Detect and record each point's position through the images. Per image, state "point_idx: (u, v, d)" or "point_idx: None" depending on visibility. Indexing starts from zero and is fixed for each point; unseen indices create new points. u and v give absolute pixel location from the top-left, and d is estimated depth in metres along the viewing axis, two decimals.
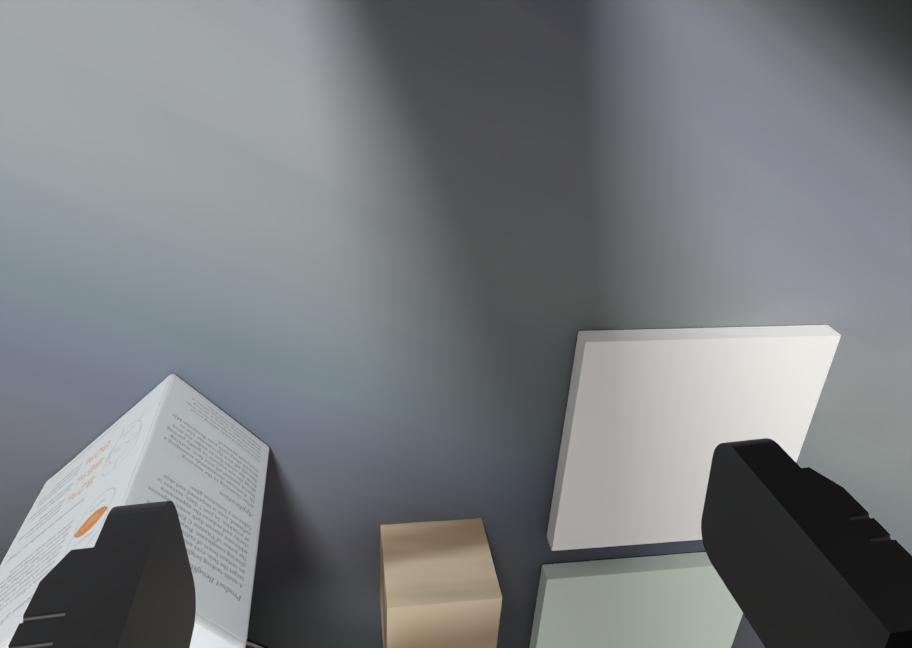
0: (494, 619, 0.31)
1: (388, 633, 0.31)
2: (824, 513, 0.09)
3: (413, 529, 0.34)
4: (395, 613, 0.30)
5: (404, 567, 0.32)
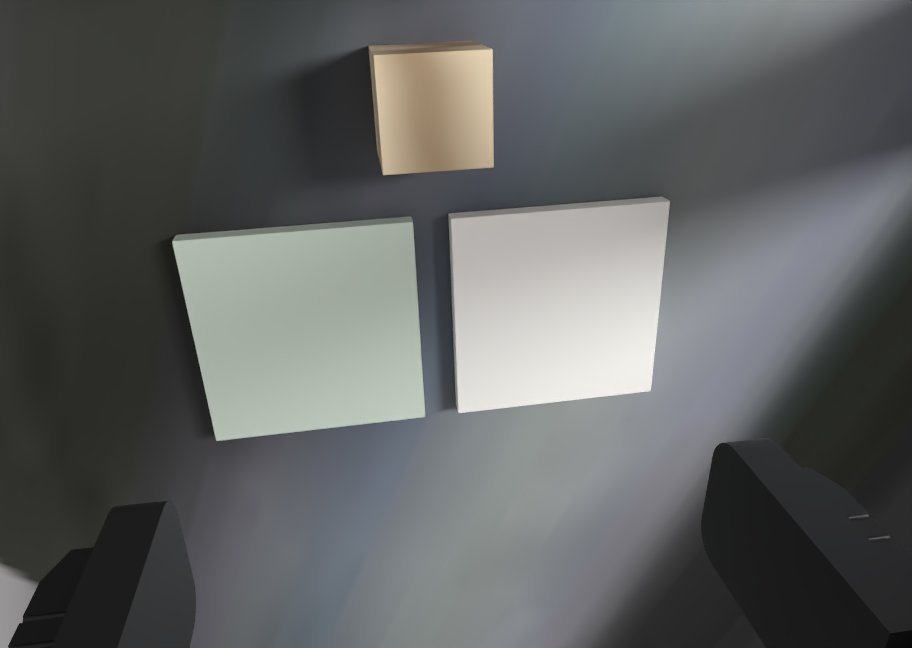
0: (464, 164, 0.32)
1: (455, 52, 0.30)
2: (824, 513, 0.09)
3: None
4: (483, 58, 0.30)
5: None
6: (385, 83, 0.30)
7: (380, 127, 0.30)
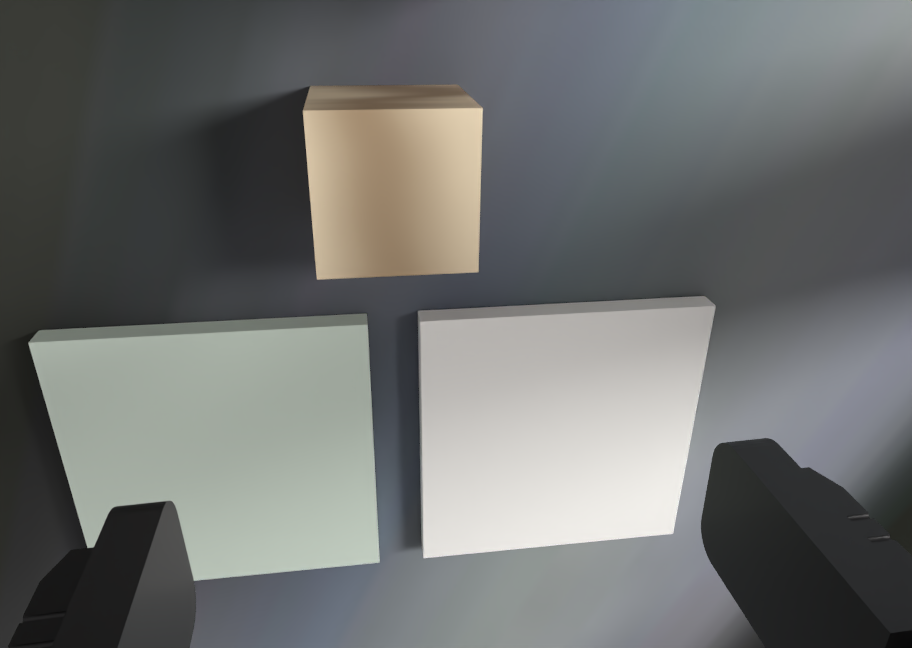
0: (436, 267, 0.22)
1: (426, 111, 0.20)
2: (824, 513, 0.09)
3: None
4: (468, 120, 0.20)
5: None
6: (320, 151, 0.20)
7: (312, 213, 0.21)
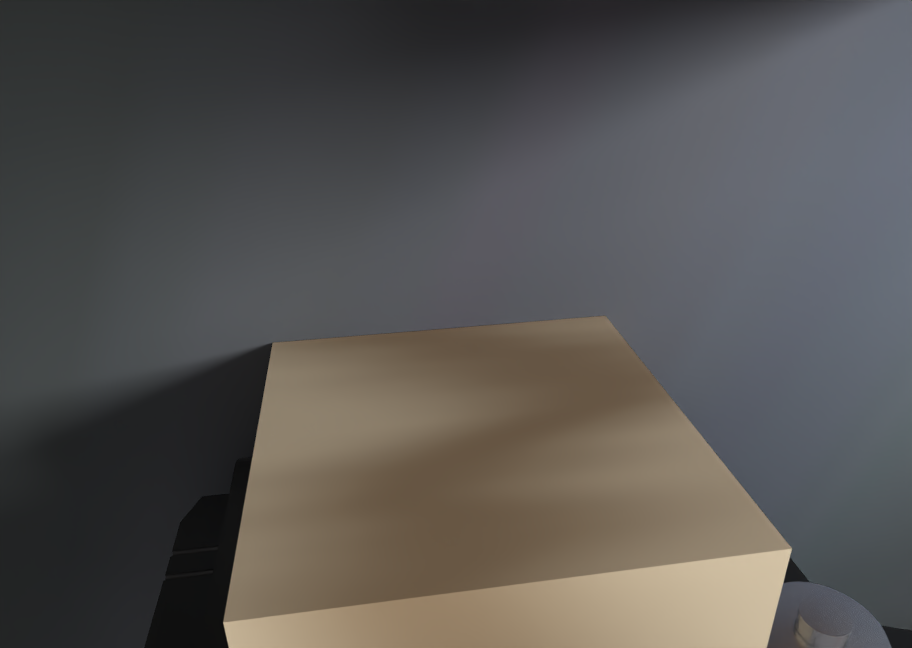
0: None
1: (622, 576, 0.06)
2: None
3: None
4: (743, 582, 0.07)
5: None
6: None
7: None
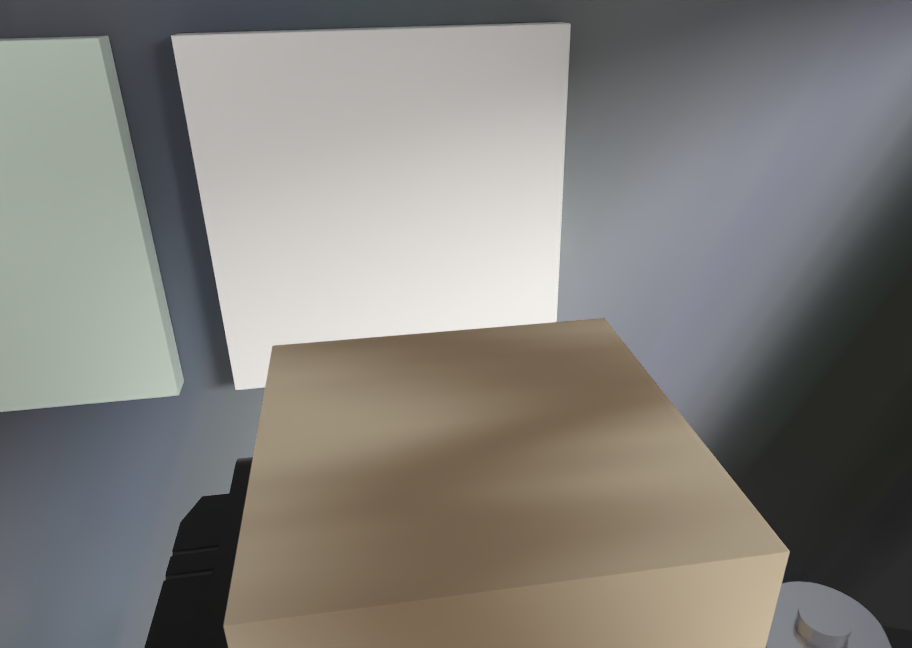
0: None
1: (620, 579, 0.06)
2: None
3: None
4: (741, 585, 0.07)
5: None
6: None
7: None
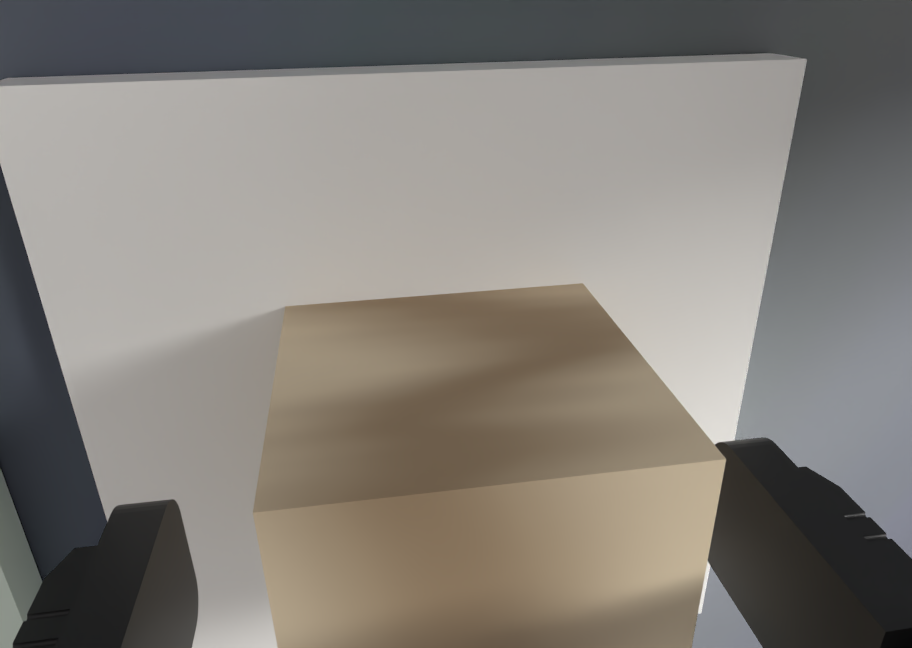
0: None
1: (583, 480, 0.07)
2: (820, 512, 0.09)
3: None
4: (686, 489, 0.08)
5: None
6: (305, 591, 0.08)
7: None
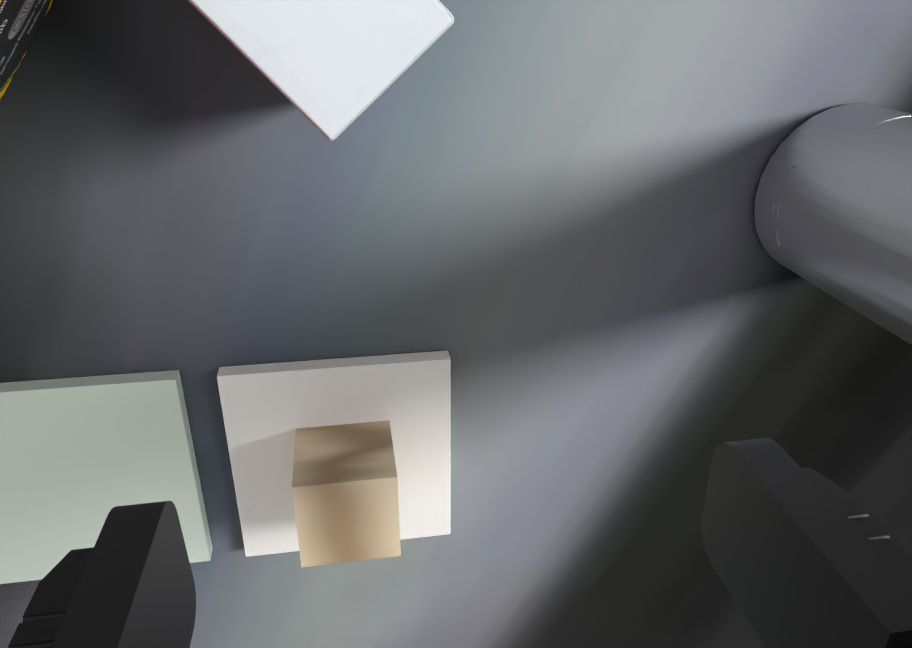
0: (374, 555, 0.36)
1: (364, 481, 0.34)
2: (824, 513, 0.09)
3: None
4: (389, 483, 0.34)
5: None
6: (302, 505, 0.34)
7: (298, 535, 0.35)
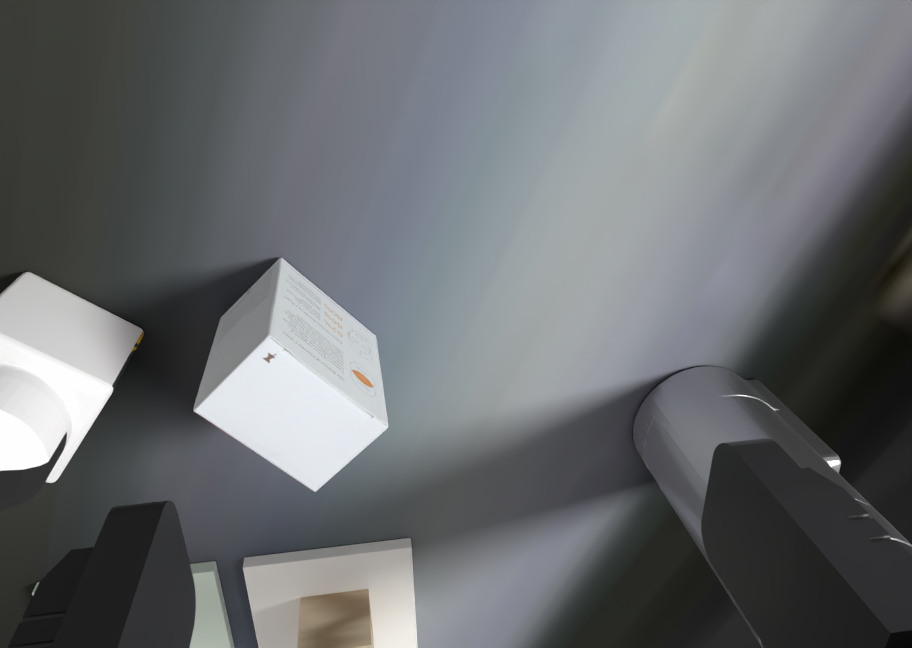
0: None
1: None
2: (824, 513, 0.09)
3: (370, 609, 0.53)
4: None
5: None
6: None
7: None
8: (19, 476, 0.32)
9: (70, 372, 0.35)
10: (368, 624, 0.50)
